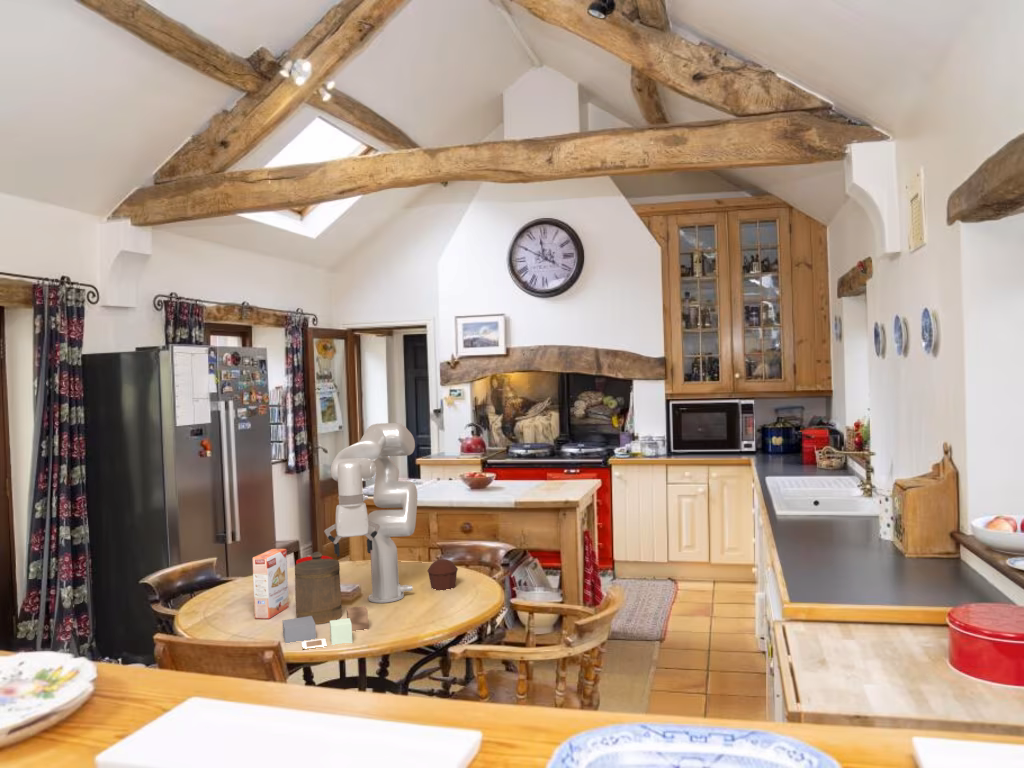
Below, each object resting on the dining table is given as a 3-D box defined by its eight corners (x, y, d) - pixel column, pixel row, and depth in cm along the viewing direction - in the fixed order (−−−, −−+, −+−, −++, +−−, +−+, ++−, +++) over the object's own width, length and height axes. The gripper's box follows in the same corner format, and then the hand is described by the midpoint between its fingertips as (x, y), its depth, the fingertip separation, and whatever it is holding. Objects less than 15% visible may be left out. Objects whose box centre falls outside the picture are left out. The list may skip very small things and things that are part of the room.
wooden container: (349, 611, 269) (346, 547, 269) (329, 625, 255) (326, 557, 254) (309, 610, 272) (306, 547, 272) (288, 624, 258) (284, 557, 258)
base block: (312, 631, 250) (311, 615, 250) (316, 640, 242) (315, 623, 242) (283, 636, 247) (282, 620, 247) (285, 644, 238) (284, 628, 238)
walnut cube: (366, 624, 254) (365, 605, 254) (368, 629, 248) (367, 610, 248) (347, 626, 252) (346, 608, 252) (349, 632, 247) (348, 613, 247)
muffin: (461, 589, 290) (459, 562, 289) (431, 593, 287) (429, 565, 287) (455, 581, 301) (454, 555, 301) (426, 585, 298) (425, 558, 298)
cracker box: (270, 619, 264) (267, 557, 264) (254, 619, 265) (250, 557, 265) (290, 607, 278) (287, 547, 278) (274, 606, 279) (271, 548, 279)
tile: (325, 639, 241) (325, 637, 241) (326, 646, 234) (326, 645, 234) (301, 642, 239) (301, 641, 239) (302, 650, 232) (302, 648, 232)
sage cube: (350, 637, 242) (349, 618, 242) (352, 643, 236) (351, 623, 236) (330, 640, 240) (329, 620, 240) (332, 646, 234) (331, 626, 234)
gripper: (377, 496, 256) (379, 549, 256) (322, 501, 251) (324, 554, 251) (380, 499, 249) (382, 553, 249) (323, 504, 244) (326, 559, 244)
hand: (353, 554), depth 250 cm, fingers open, 9 cm apart
